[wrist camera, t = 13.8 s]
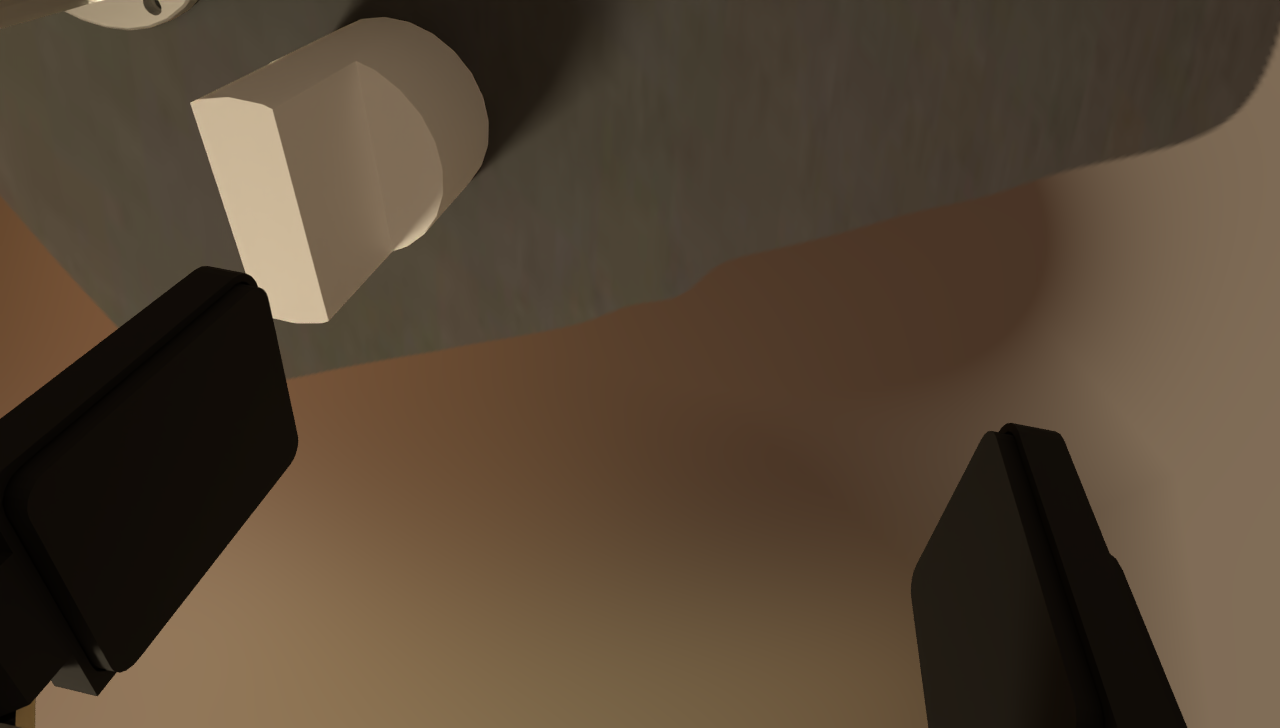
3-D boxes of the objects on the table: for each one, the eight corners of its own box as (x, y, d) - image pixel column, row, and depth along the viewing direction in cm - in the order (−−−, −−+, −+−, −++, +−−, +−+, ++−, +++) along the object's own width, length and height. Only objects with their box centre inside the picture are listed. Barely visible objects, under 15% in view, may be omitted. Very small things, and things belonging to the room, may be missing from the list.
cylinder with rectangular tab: (293, 11, 36) (107, 87, 26) (479, 22, 35) (355, 106, 25) (335, 192, 41) (193, 311, 32) (497, 207, 40) (400, 335, 30)
